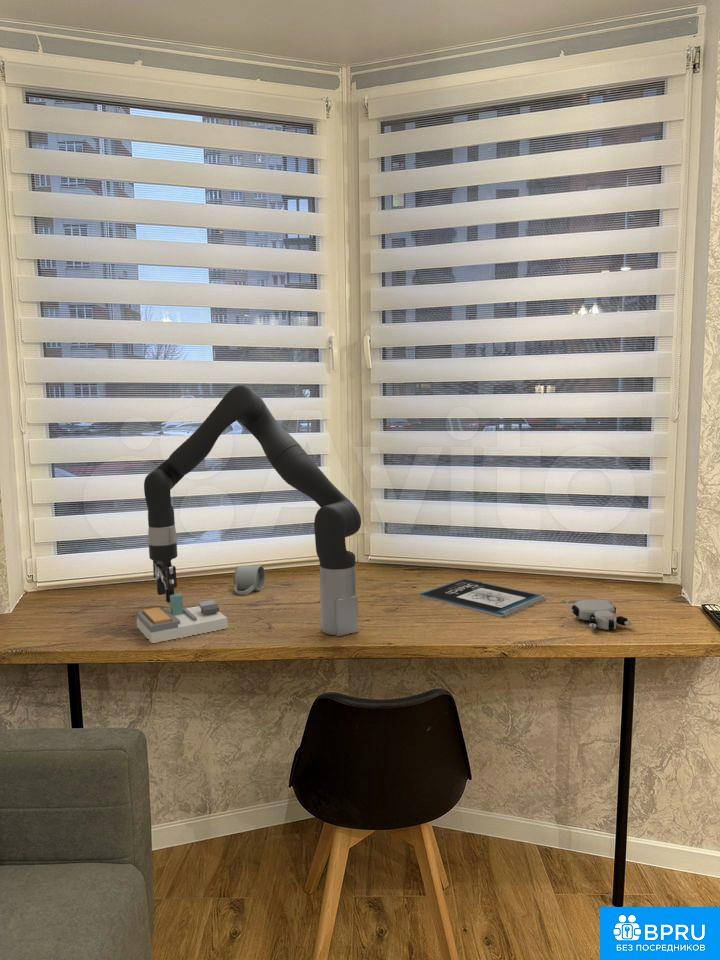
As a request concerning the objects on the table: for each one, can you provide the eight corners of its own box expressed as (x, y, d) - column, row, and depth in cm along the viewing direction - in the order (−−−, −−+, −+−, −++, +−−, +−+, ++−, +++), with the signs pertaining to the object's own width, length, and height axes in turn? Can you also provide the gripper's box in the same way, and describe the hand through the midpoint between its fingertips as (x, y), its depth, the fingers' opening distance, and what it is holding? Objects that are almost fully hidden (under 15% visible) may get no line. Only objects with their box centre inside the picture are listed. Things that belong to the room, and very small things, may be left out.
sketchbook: (463, 582, 232) (463, 576, 232) (547, 602, 211) (547, 595, 211) (419, 597, 217) (419, 591, 217) (504, 620, 196) (504, 612, 196)
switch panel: (227, 628, 192) (227, 612, 191) (151, 644, 182) (150, 626, 181) (209, 614, 204) (208, 598, 203) (137, 628, 194) (136, 611, 193)
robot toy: (634, 635, 185) (607, 612, 199) (636, 618, 184) (608, 596, 198) (588, 638, 183) (564, 614, 198) (589, 621, 182) (565, 598, 197)
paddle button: (171, 626, 185) (170, 618, 185) (155, 629, 183) (154, 621, 183) (158, 614, 195) (158, 607, 194) (143, 617, 193) (143, 609, 192)
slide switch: (183, 613, 196) (182, 595, 195) (173, 615, 194) (172, 597, 193) (181, 611, 197) (180, 593, 197) (170, 613, 196) (169, 595, 195)
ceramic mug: (242, 585, 232) (240, 561, 231) (266, 586, 230) (265, 562, 229) (228, 595, 222) (227, 571, 221) (253, 596, 220) (252, 572, 219)
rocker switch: (219, 614, 195) (219, 607, 195) (204, 617, 193) (204, 610, 193) (212, 606, 199) (213, 599, 199) (198, 608, 197) (198, 602, 197)
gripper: (183, 544, 198) (187, 602, 200) (168, 535, 210) (171, 589, 212) (156, 548, 194) (159, 607, 196) (142, 538, 206) (145, 594, 208)
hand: (165, 598), depth 204 cm, fingers open, 8 cm apart
